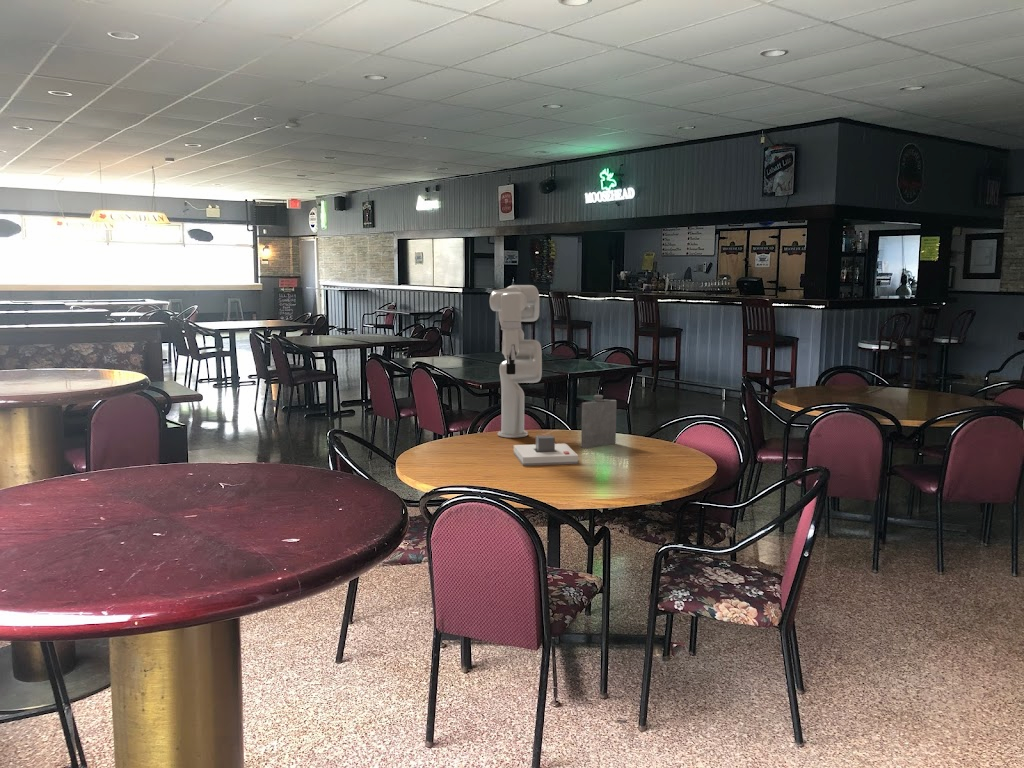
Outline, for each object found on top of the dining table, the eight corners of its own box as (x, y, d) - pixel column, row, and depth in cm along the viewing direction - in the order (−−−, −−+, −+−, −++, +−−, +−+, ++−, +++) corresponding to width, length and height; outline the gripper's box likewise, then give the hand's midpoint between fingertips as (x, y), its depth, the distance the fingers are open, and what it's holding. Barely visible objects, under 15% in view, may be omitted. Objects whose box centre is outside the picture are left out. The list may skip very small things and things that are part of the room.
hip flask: (584, 448, 310) (585, 397, 307) (578, 446, 313) (579, 396, 310) (617, 444, 318) (618, 394, 315) (610, 442, 321) (611, 392, 318)
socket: (513, 452, 302) (513, 443, 302) (565, 451, 305) (565, 441, 305) (523, 465, 283) (523, 455, 282) (578, 463, 286) (578, 453, 285)
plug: (535, 454, 296) (535, 435, 295) (551, 454, 297) (551, 435, 296) (538, 457, 291) (538, 438, 290) (554, 457, 292) (554, 437, 291)
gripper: (498, 324, 309) (498, 371, 311) (504, 327, 294) (504, 376, 297) (517, 324, 310) (517, 371, 313) (524, 327, 295) (524, 376, 298)
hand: (510, 373), depth 305 cm, fingers closed
